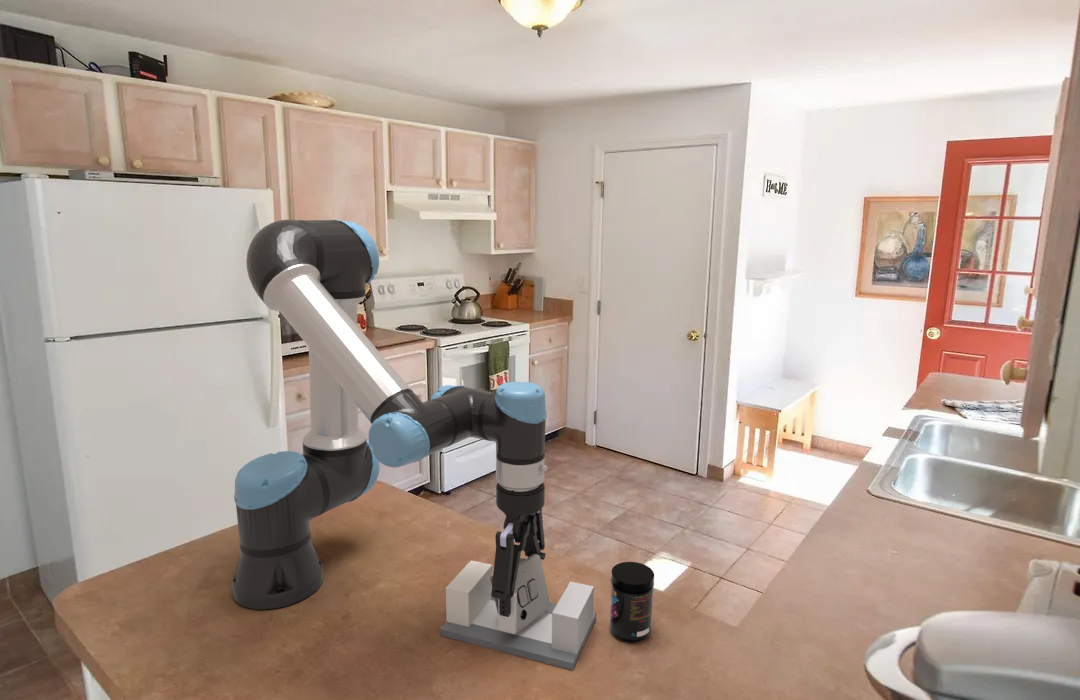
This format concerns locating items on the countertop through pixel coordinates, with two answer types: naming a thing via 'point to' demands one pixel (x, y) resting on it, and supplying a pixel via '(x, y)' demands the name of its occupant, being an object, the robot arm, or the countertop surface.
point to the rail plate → (541, 640)
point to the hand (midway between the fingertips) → (519, 612)
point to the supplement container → (631, 601)
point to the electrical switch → (529, 591)
